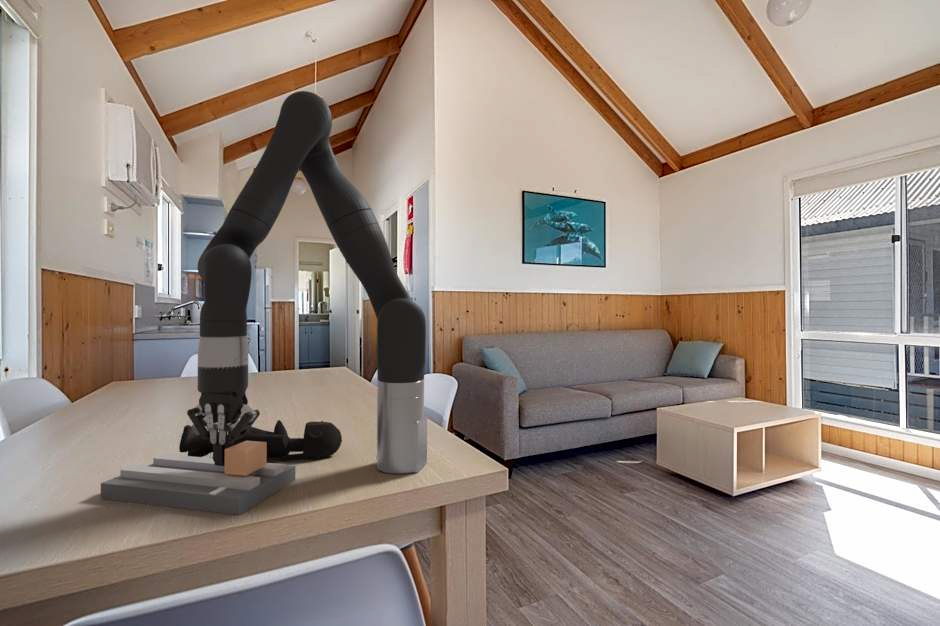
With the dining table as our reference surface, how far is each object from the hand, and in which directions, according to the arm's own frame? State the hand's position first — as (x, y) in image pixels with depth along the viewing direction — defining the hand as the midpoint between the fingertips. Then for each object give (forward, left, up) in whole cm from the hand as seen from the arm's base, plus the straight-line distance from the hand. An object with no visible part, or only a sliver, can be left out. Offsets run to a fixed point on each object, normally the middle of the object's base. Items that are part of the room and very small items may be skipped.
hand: (222, 464), depth 74 cm
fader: (-5, 0, -2) cm, 5 cm away
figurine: (+4, -16, -5) cm, 17 cm away
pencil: (+29, -26, -5) cm, 39 cm away
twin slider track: (+4, 0, -4) cm, 6 cm away
